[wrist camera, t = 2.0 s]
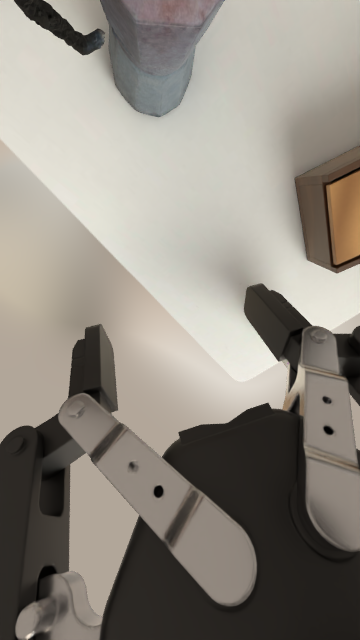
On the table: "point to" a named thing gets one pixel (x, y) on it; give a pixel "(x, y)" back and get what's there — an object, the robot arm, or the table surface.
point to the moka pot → (140, 45)
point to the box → (323, 208)
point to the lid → (344, 216)
